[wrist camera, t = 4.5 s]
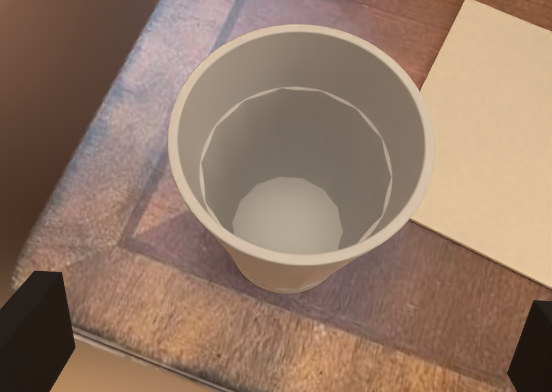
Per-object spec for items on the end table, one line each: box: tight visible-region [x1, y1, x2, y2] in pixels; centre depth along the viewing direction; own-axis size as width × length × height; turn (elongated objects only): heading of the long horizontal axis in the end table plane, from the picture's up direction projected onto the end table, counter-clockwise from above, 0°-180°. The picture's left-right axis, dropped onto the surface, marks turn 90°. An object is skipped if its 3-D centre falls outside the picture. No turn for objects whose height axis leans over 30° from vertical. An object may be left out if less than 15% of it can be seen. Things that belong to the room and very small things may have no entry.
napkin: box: [409, 0, 552, 290], centre depth 27 cm, size 16×16×1 cm
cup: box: [167, 24, 435, 294], centre depth 19 cm, size 8×8×12 cm
